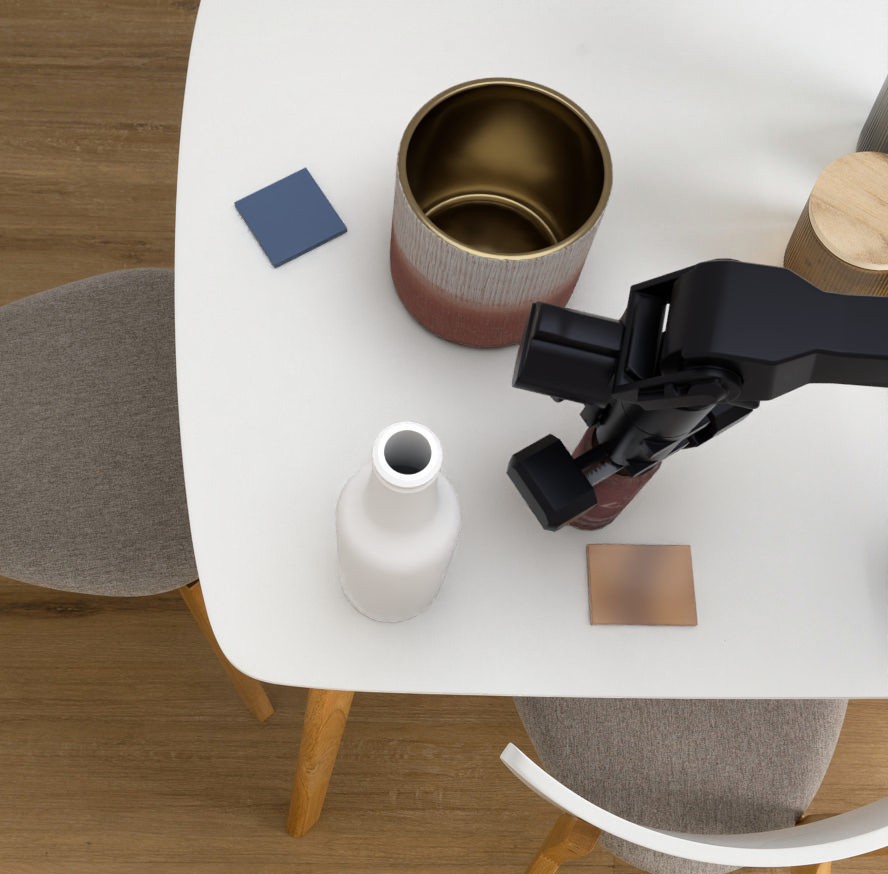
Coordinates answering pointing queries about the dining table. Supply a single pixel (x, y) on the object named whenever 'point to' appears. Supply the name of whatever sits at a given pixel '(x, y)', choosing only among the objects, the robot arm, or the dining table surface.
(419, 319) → the planter
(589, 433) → the can
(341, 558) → the alcohol
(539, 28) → the dining table surface
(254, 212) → the slate mat
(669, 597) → the caramel mat
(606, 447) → the robot arm
